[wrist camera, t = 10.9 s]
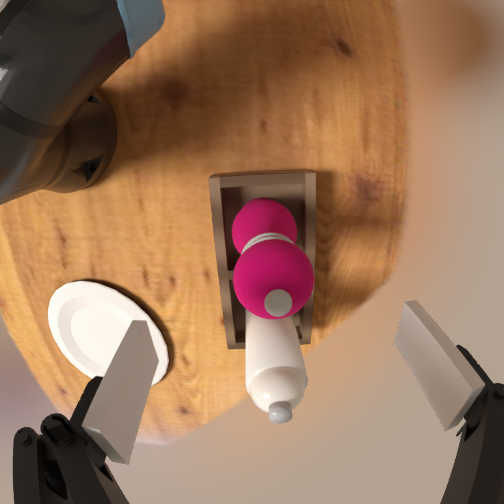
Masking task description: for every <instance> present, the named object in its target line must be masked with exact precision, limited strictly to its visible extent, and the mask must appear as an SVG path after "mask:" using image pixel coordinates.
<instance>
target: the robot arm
mask: <svg viewBox="0 0 504 504" xmlns="http://www.w3.org/2000/svg"><path fill="white" fill-rule="evenodd" d="M164 19H165V9H164V5H163V2H162V0H0V205H1V204H4V203H6V202H9V201H11V200H14V199H16V198H19V197H21V196H24V195H27V194H30V193H32V192H35V191H38V190H41V189H44V190H48V191H53V192H58V193H71V192H75V191H78V190H81V189H83V188H86V187H88V186H90V185H91V184H93V183H94V182H95V181H96V180H97V179H98V178H99V177H100V176H101V175H102V174H103V173H104V171H105V170H106V168H107V167H108V165H109V163H110V161H111V158H112V156H113V153H114V149H115V145H116V138H117V126H116V119H115V115H114V112H113V110H112V108H111V106H110V104H109V102H108V101H107V100H106V99H105V98H104V97H103V96H102V95H101V94H100V93H98V92H96V90H97V89H98V88H99V87H100V86H101V85H102V84H103V83H104V82H105V81H106V80H107V79H108V78H109V77H110V76H111V75H112V74H113V73H114V72H115V71H116V70H117V69H118V68H119V67H120V66H121V65H122V64H123V63H125V62H126V61H127V60H128V59H131V58H133V57H134V55H135V52H136V51H137V50H138V49H139V48H140V47H141V46H142V45H143V44H145V43H146V42H147V41H148V40H149V39H150V38H151V37H152V36H154V35H155V34H156V33H157V32H158V31H159V30H160V29H161V27H162V25H163V23H164ZM394 343H395V345H396V346H397V348H398V350H399V351H400V353H401V355H402V356H403V358H404V359H405V361H406V363H407V364H408V366H409V368H410V369H411V371H412V373H413V374H414V376H415V378H416V379H417V381H418V383H419V384H420V386H421V388H422V390H423V391H424V393H425V395H426V397H427V398H428V400H429V402H430V404H431V406H432V407H433V409H434V411H435V413H436V415H437V416H438V418H439V420H440V422H441V424H442V426H443V427H444V430H445V431H446V430H448V429H451V428H453V427H455V426H457V425H458V424H459V423H460V421H461V420H462V419H463V417H464V419H465V420H466V422H465V424H464V425H463V426H462V427H461V429H460V430H459V431H458V433H457V435H456V436H459V434H460V433H461V432H462V435H461V439H460V443H459V447H458V452H457V455H456V459H455V462H454V466H453V469H452V472H451V475H450V478H449V482H448V484H447V487H446V490H445V493H444V495H443V498H442V501H441V503H440V504H504V385H503V384H501V383H495V384H494V383H493V382H492V381H491V380H490V378H489V377H488V376H487V374H486V373H485V372H484V371H483V369H482V368H481V367H480V365H479V364H477V362H476V360H475V359H474V358H473V357H472V355H471V354H470V353H469V352H468V351H467V350H466V349H465V348H463V347H462V346H460V345H457V346H455V345H454V343H453V342H452V341H451V340H450V339H449V337H448V336H447V335H446V334H445V333H444V331H443V330H442V329H441V328H440V327H439V325H438V324H437V323H436V322H435V321H434V320H433V318H432V317H431V316H430V315H429V314H428V313H427V312H426V311H425V309H424V308H423V307H422V306H421V305H420V304H419V303H418V302H417V301H416V300H414V301H407V302H405V303H404V307H403V311H402V315H401V319H400V323H399V326H398V330H397V334H396V337H395V340H394ZM158 363H159V359H158V356H157V353H156V350H155V347H154V344H153V341H152V337H151V334H150V331H149V328H148V324H147V321H146V320H132V322H131V324H130V326H129V328H128V330H127V332H126V334H125V335H124V337H123V339H122V341H121V343H120V345H119V347H118V349H117V351H116V353H115V355H114V357H113V359H112V361H111V363H110V365H109V367H108V369H107V371H106V373H105V375H104V377H101V376H95V377H94V378H93V379H92V380H91V381H90V382H88V384H87V386H86V388H85V390H84V393H83V394H82V396H81V398H80V400H79V402H78V404H77V406H76V408H75V410H74V412H73V414H72V417H71V419H70V421H69V420H68V419H67V418H66V417H65V416H64V415H62V414H57V413H55V414H51V415H49V416H47V417H46V418H45V419H44V420H43V421H42V424H41V432H42V434H43V435H38V434H37V433H36V432H35V431H34V430H33V429H32V428H30V427H24V428H21V429H20V430H18V431H17V433H16V434H15V437H14V444H13V489H14V490H13V491H14V504H129V502H128V501H127V499H126V497H125V496H124V494H123V492H122V491H121V489H120V487H119V486H118V484H117V482H116V481H115V479H114V477H113V475H112V473H111V471H110V469H109V468H108V466H107V464H106V463H105V458H106V455H107V456H108V457H109V458H110V460H111V461H113V462H118V463H122V464H126V465H128V464H129V461H130V457H131V454H132V450H133V446H134V442H135V439H136V435H137V432H138V428H139V425H140V421H141V418H142V414H143V411H144V408H145V404H146V401H147V398H148V394H149V391H150V388H151V385H152V381H153V378H154V375H155V372H156V369H157V366H158Z"/></svg>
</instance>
